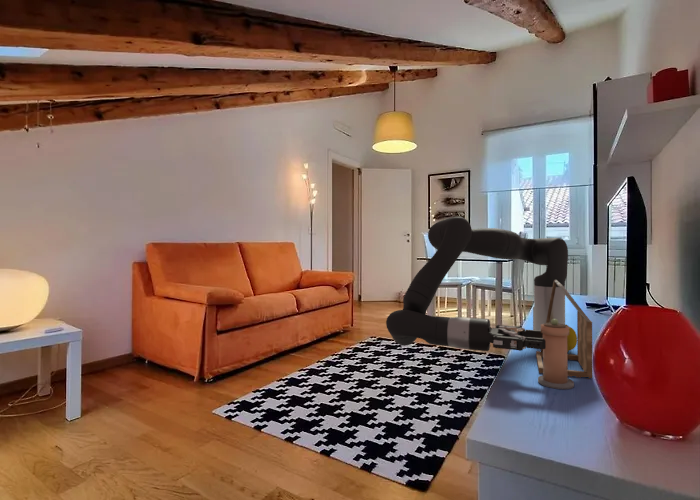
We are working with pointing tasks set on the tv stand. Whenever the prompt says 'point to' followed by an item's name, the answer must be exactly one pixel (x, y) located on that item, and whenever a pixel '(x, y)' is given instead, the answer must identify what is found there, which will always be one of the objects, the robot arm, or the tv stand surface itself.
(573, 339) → the lemon
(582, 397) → the tv stand surface
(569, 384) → the grey-brown flat disc
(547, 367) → the pot
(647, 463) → the tv stand surface
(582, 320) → the cold frame
